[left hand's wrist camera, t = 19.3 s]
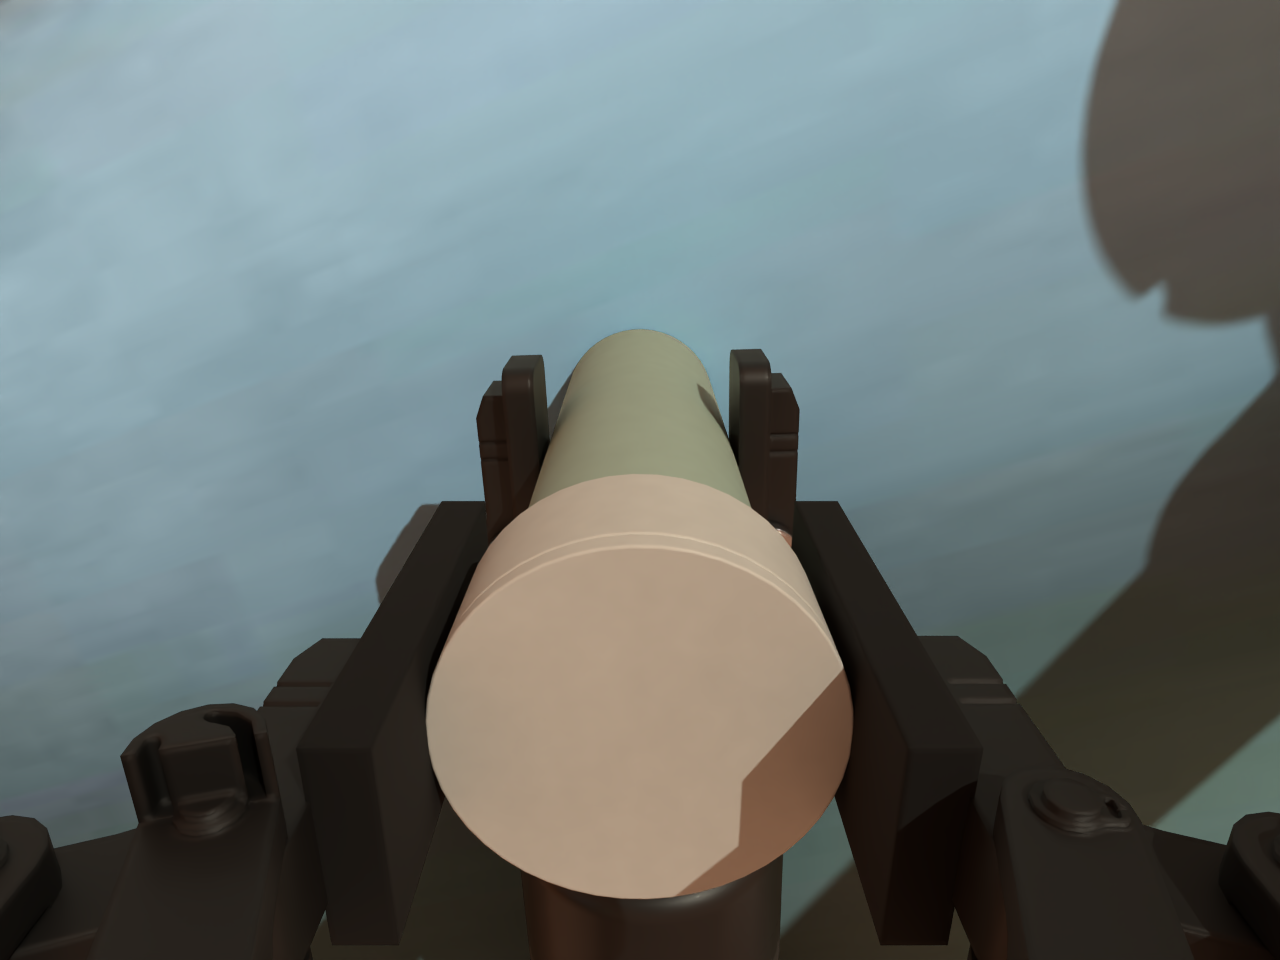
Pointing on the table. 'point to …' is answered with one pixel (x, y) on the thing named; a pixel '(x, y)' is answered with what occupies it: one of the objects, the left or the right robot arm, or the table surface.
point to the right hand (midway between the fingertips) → (634, 362)
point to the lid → (639, 692)
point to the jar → (639, 418)
